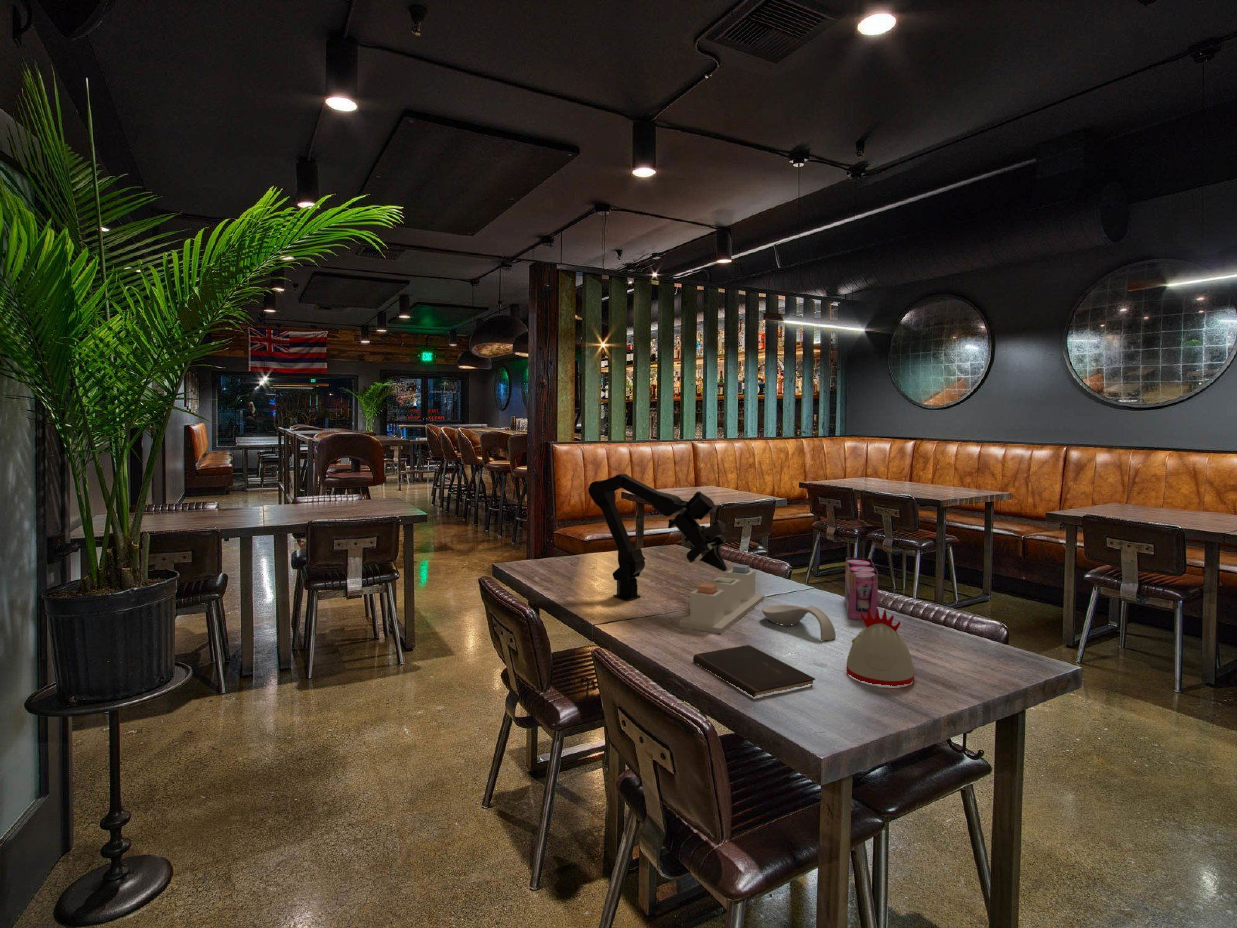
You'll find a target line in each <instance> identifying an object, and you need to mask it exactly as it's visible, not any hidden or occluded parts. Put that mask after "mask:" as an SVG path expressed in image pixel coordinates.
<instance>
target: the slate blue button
mask: <svg viewBox="0 0 1237 928" xmlns="http://www.w3.org/2000/svg"><path fill="white" fill-rule="evenodd" d="M732 569H733V572H734V573H743V574H747V573H749V570H750V564H749V565H746V564H741V563H737V564H735V565H733V566H732Z"/></svg>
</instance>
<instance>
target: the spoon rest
mask: <svg viewBox="0 0 1237 928" xmlns="http://www.w3.org/2000/svg"><path fill="white" fill-rule="evenodd" d="M761 611H762V614H763V616H765V618H766V619H768V620H769V621H770V622H772V623H773V624H775V623H778V624H783V625H791V624H795V623H796V624H797V623H799V622H801V620H803V618H804V617H805V616H806V615H807V614H808V613H809V614H811V615H812V616H814V617H815V618H816V621H818V624H819V629H820V641H821V640H822V641H821V642H826V641H825V640H828V641H832V639H833V640H835V639H836V638H837V635H836V631H835V626H834V625H833V622H832V621H831V619H830V617H828V614H826V613H825V612H824V611H823V610H822V609H821V608H819V607H817V606H815V605H814V606H812V605H811V606H808V607H807V606H806V607H803V606H798V605H790V604H775V605H774V604H773V605H768V606H765V607H763V608H761ZM778 624H777V625H778ZM796 624H795V625H796ZM783 625H782V626H783ZM791 626H792V625H791Z"/></svg>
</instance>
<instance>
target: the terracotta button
mask: <svg viewBox="0 0 1237 928" xmlns="http://www.w3.org/2000/svg"><path fill="white" fill-rule="evenodd" d="M697 589H698V593H704V594H711V595H713V594H715V593H716V592H717V585H715V584H710V583H708V582H702V583H700V584H699V585H698V586H697Z"/></svg>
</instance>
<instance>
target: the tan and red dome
mask: <svg viewBox="0 0 1237 928" xmlns="http://www.w3.org/2000/svg"><path fill="white" fill-rule="evenodd" d="M887 616H888V615H887V611H886V608H884V610H883V613H882V617H881V618H880V611H879V608H877V611H876V615H875V618H873V617H872V616H871V612H870V609H869V608H868V615H867V618H865V617H864V616H863V614H862V613H861V617H862V620H861V621H863V623H864V625H865V627H864V628H863V629H862V630H861V631H859V633H858V634H857V635H856V636H855V637H854V638H853V639H852V640H851V643H852V644H851V646H850V649H849V652H848V655H847V659H846V670H845V671H847V673H848V674H849V675H851V676H852V677H854V678H856V679H858V680H860V681H865V682H868V683H872V684H881V685H890V686H891V685H892V686H897V685H904V684H910V683H911V682H912V681H913V680H914V681H915V669H914V664H913V659H912V657H911V654H910V653H911V652H910V650H909V647H908V645H907V643H906V642H905V640H904V638H903V637H902V635H901V634H900V633H899V632H898V629H899V627H900V625H901V620H899V621H897V623H896V624H895V625H893V620H894V614H892V615H891V616H890V617H889V618H887ZM847 673H846V674H847ZM848 674H847V675H848Z"/></svg>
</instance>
